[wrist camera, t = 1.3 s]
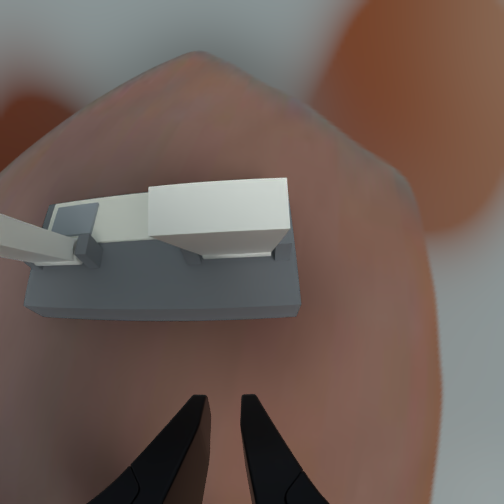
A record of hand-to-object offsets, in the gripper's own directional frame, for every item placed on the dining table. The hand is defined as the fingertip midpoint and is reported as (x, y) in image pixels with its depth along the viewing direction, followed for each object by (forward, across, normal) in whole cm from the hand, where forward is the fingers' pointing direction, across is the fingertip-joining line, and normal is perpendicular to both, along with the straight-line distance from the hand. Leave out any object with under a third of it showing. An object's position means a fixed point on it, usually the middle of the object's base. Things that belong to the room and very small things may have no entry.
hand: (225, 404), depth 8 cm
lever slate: (+14, +14, -1) cm, 20 cm away
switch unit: (+16, +7, +2) cm, 18 cm away
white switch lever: (+14, 0, -1) cm, 14 cm away
